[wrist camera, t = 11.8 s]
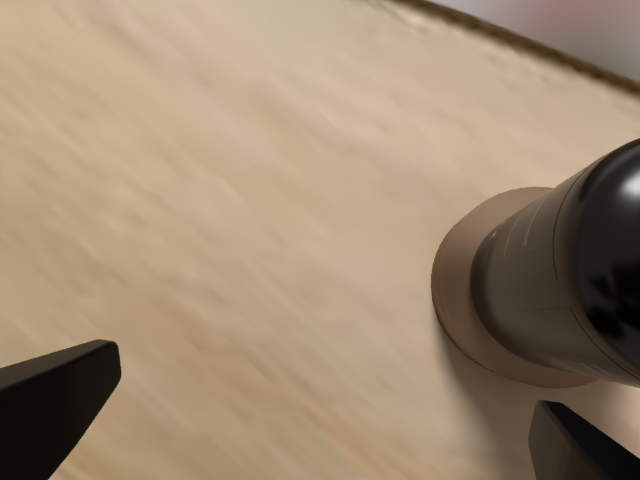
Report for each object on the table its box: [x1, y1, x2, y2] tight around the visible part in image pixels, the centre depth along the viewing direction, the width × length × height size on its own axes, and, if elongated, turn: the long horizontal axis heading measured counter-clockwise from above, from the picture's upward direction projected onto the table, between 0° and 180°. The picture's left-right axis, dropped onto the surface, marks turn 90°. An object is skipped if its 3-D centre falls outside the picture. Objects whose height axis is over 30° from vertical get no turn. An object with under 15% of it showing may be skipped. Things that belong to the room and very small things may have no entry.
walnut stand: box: [431, 187, 598, 388], centre depth 19 cm, size 9×9×2 cm
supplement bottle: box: [470, 138, 640, 388], centre depth 12 cm, size 7×7×12 cm
